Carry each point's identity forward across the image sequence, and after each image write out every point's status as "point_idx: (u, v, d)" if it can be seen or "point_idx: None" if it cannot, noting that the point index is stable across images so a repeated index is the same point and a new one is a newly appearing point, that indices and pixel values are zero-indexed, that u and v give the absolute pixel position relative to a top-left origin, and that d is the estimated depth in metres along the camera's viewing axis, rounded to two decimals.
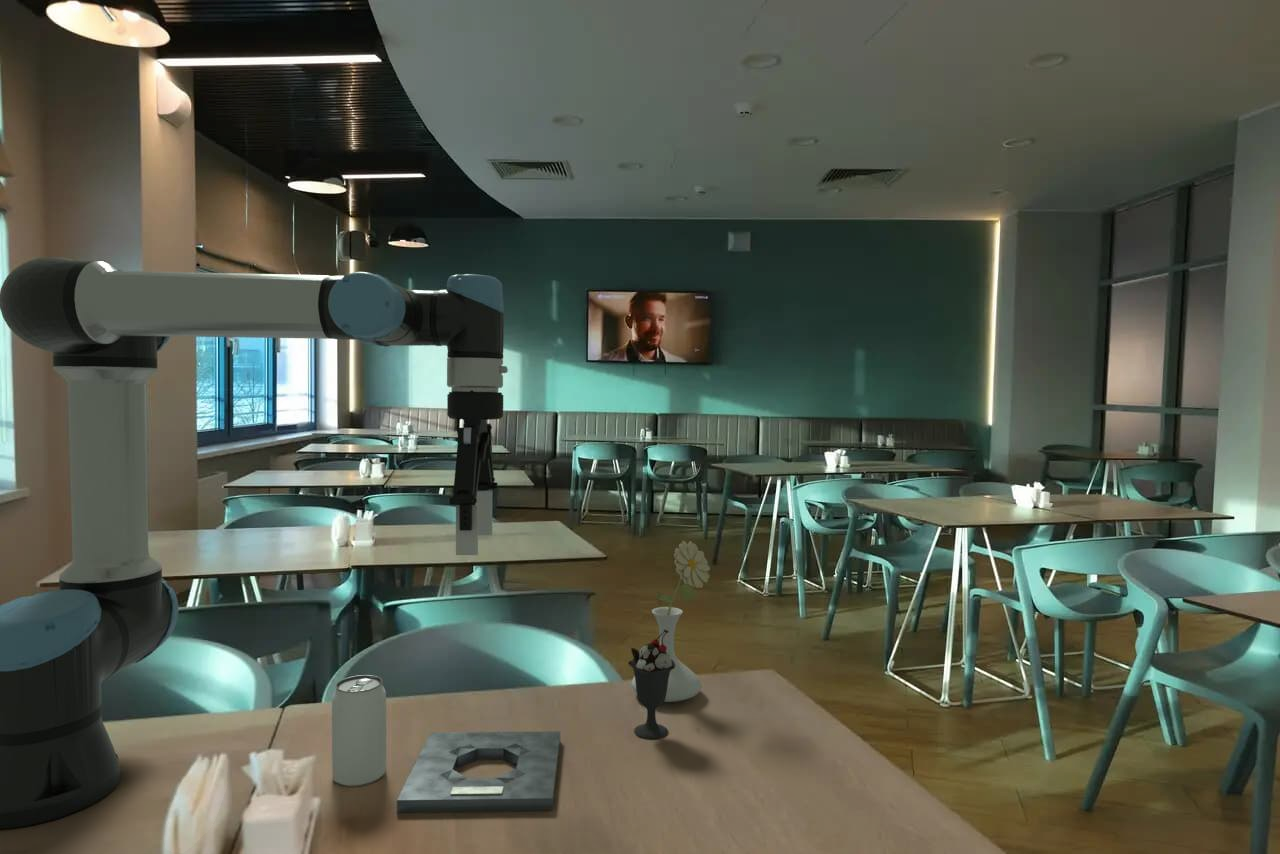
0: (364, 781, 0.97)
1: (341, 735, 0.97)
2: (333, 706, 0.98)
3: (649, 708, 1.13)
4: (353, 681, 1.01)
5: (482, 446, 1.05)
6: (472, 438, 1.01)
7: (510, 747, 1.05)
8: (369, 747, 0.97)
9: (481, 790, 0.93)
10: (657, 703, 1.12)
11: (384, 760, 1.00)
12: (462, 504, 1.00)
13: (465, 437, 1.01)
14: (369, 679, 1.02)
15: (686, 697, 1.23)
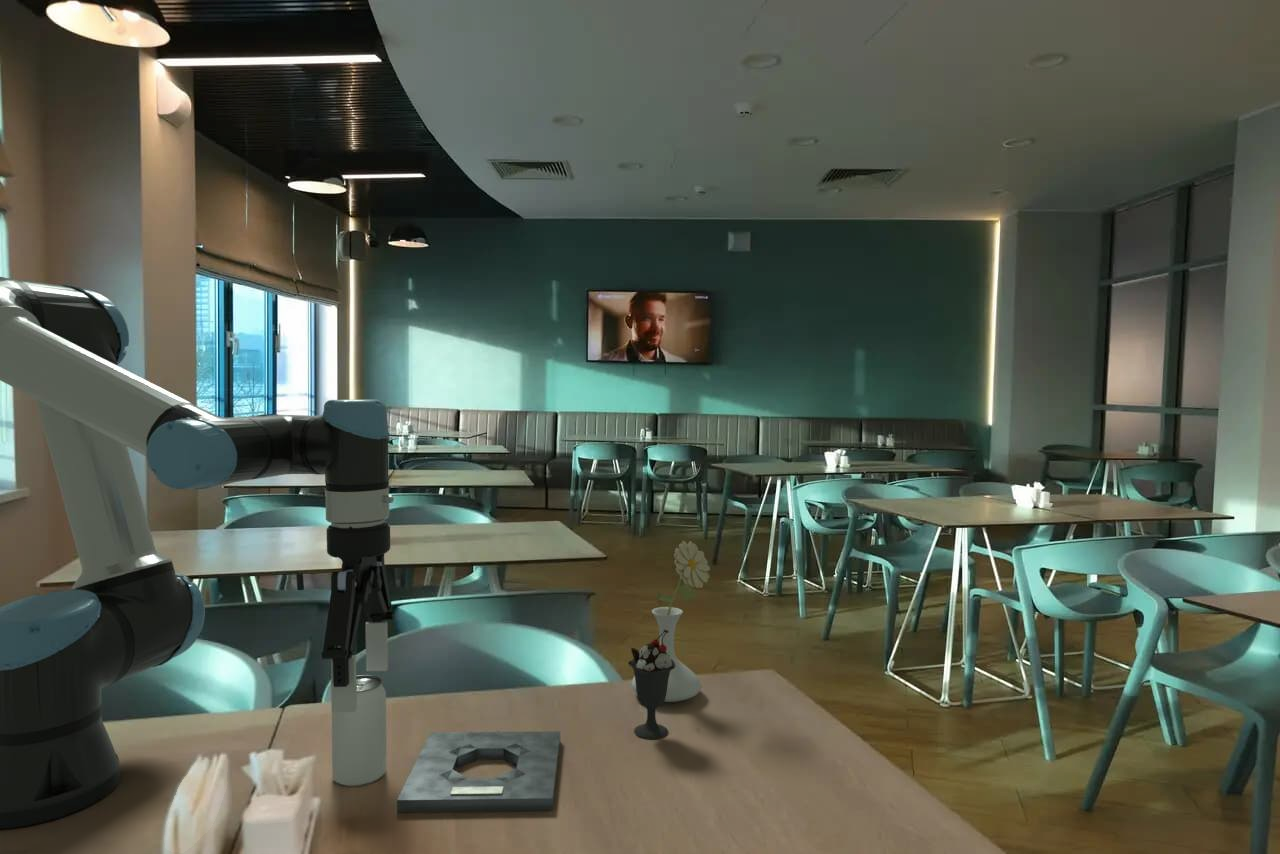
0: (364, 781, 0.97)
1: (341, 735, 0.97)
2: None
3: (649, 708, 1.13)
4: None
5: (363, 587, 0.96)
6: (347, 584, 0.92)
7: (510, 747, 1.05)
8: (369, 747, 0.97)
9: (481, 790, 0.93)
10: (657, 703, 1.12)
11: (384, 760, 1.00)
12: (335, 659, 0.91)
13: (339, 583, 0.92)
14: (369, 679, 1.02)
15: (686, 697, 1.23)
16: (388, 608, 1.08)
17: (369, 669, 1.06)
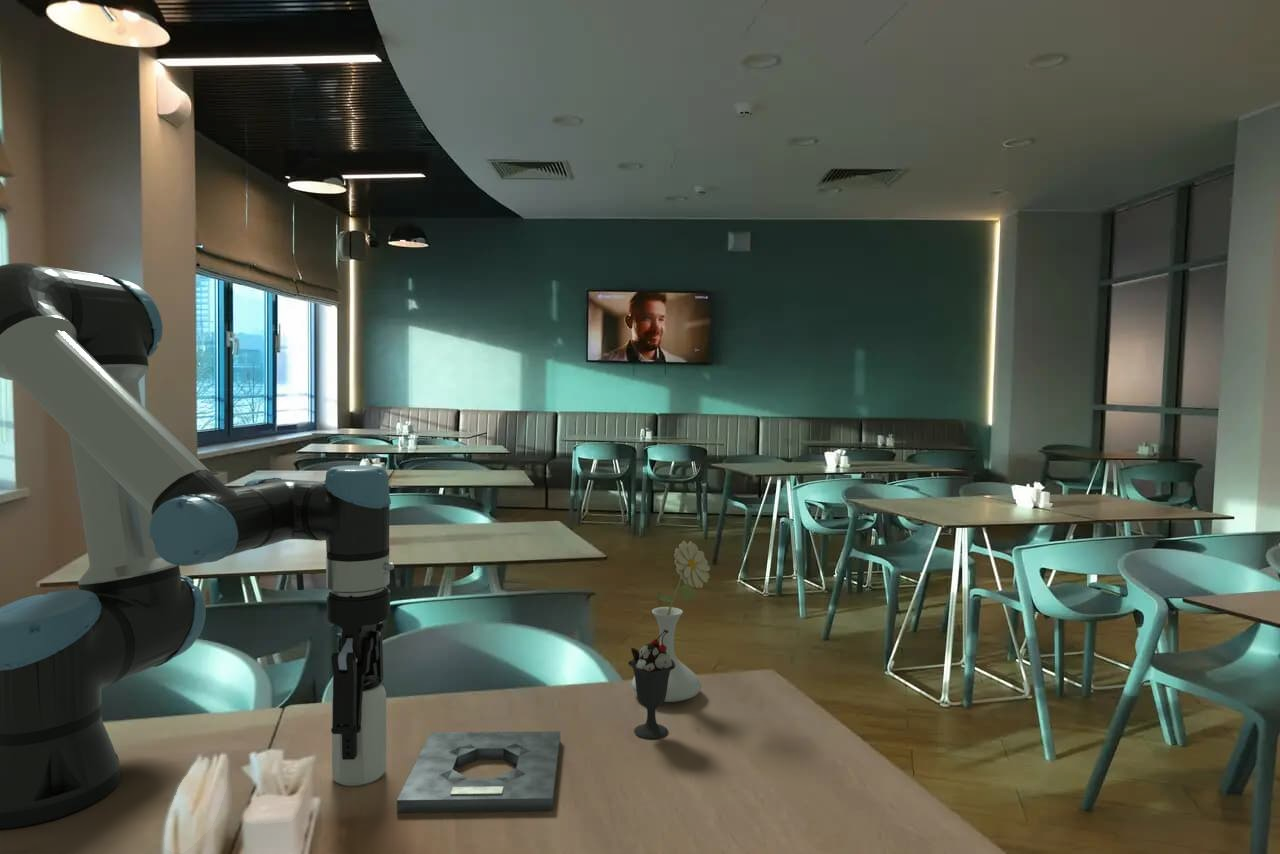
0: (364, 781, 0.97)
1: None
2: None
3: (649, 708, 1.13)
4: None
5: (364, 658, 0.97)
6: (348, 666, 0.93)
7: (510, 747, 1.05)
8: (369, 747, 0.97)
9: (481, 790, 0.93)
10: (657, 703, 1.12)
11: (384, 760, 1.00)
12: (344, 733, 0.95)
13: (340, 666, 0.93)
14: (369, 679, 1.01)
15: (686, 697, 1.23)
16: None
17: None
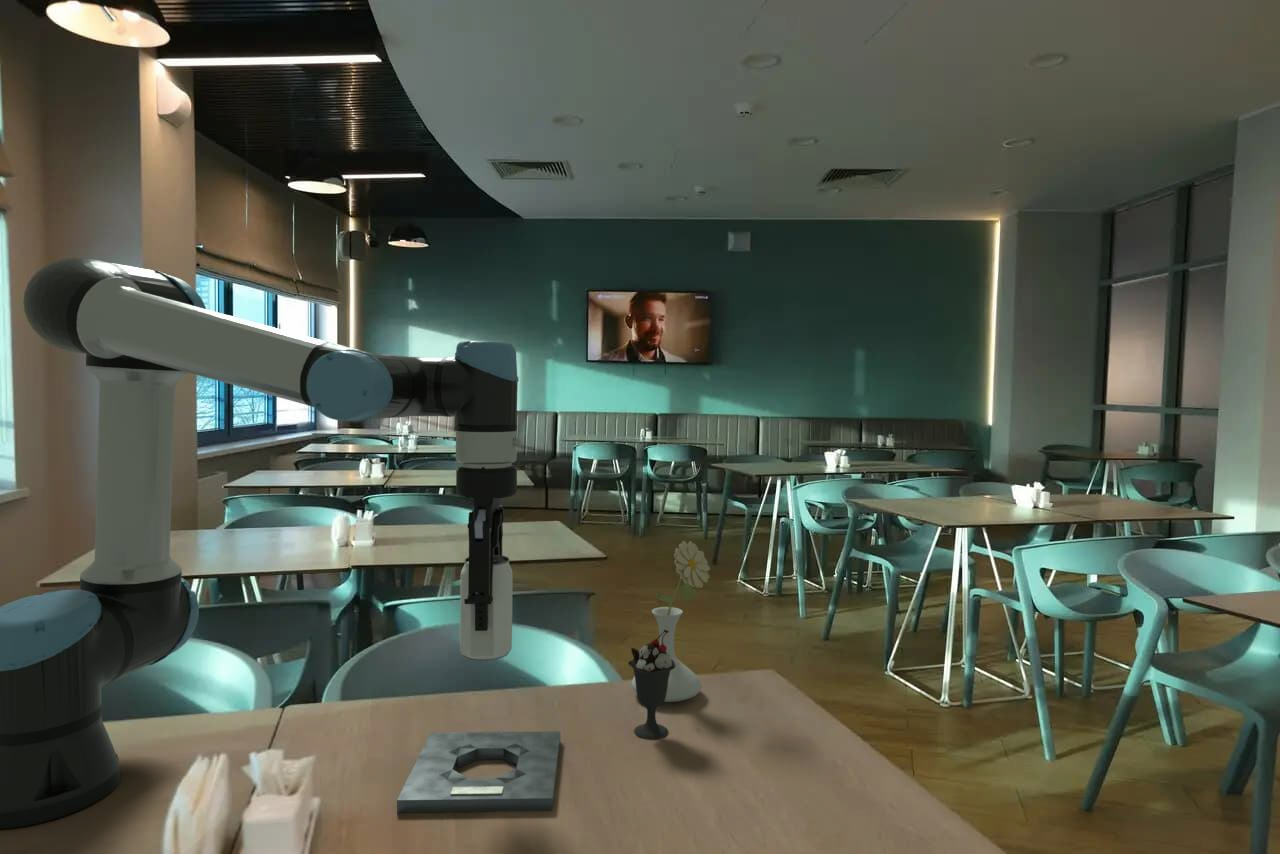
0: (494, 655, 0.97)
1: None
2: (463, 580, 0.97)
3: (649, 708, 1.13)
4: None
5: (495, 531, 0.97)
6: (484, 534, 0.93)
7: (510, 747, 1.05)
8: (500, 621, 0.97)
9: (481, 790, 0.93)
10: (657, 703, 1.12)
11: (511, 637, 1.00)
12: (478, 604, 0.95)
13: (477, 533, 0.93)
14: (494, 558, 1.01)
15: (686, 697, 1.23)
16: None
17: None
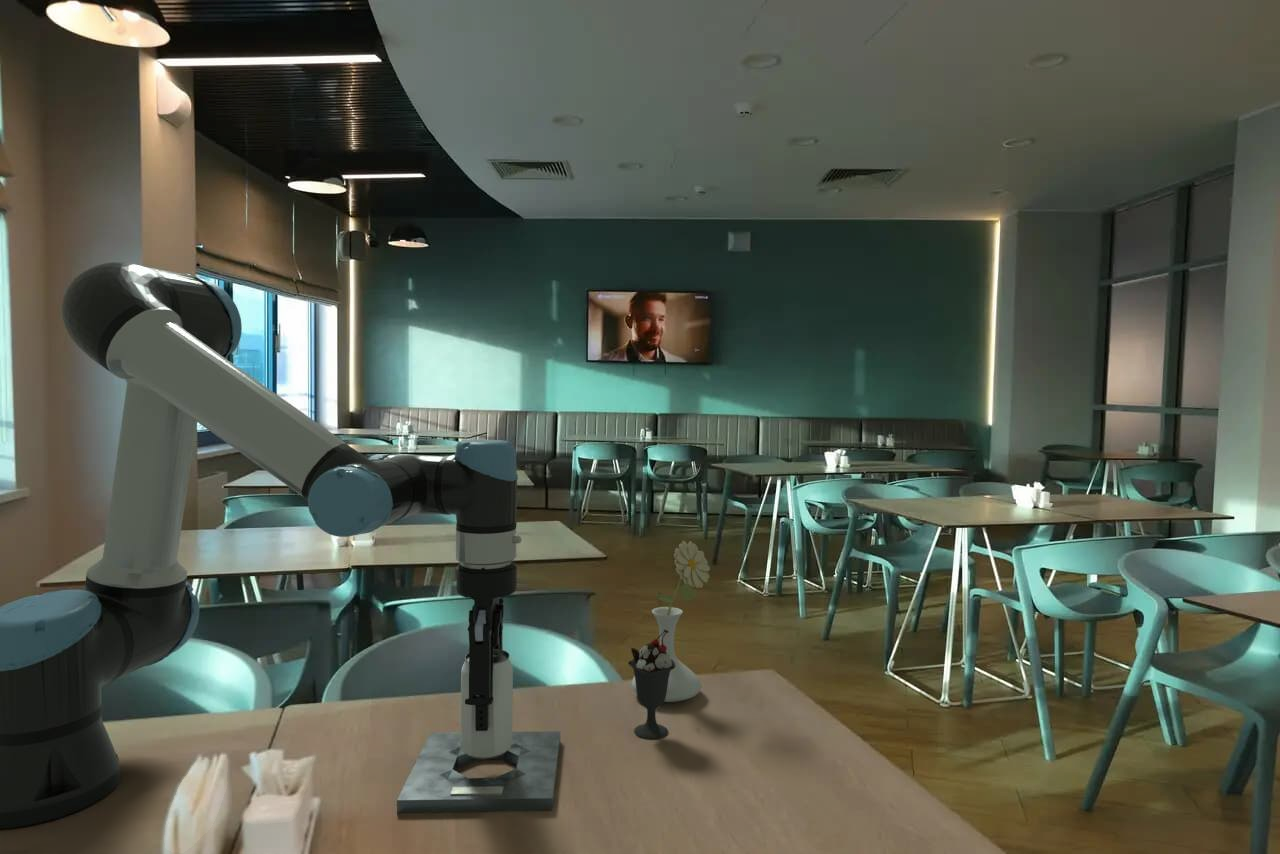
0: (495, 753, 0.98)
1: None
2: (464, 678, 0.98)
3: (649, 708, 1.13)
4: None
5: (495, 630, 0.98)
6: (484, 637, 0.94)
7: (510, 747, 1.05)
8: (500, 719, 0.98)
9: (481, 790, 0.93)
10: (657, 703, 1.12)
11: (511, 733, 1.00)
12: (478, 705, 0.95)
13: (477, 636, 0.93)
14: (494, 652, 1.02)
15: (686, 697, 1.23)
16: None
17: None
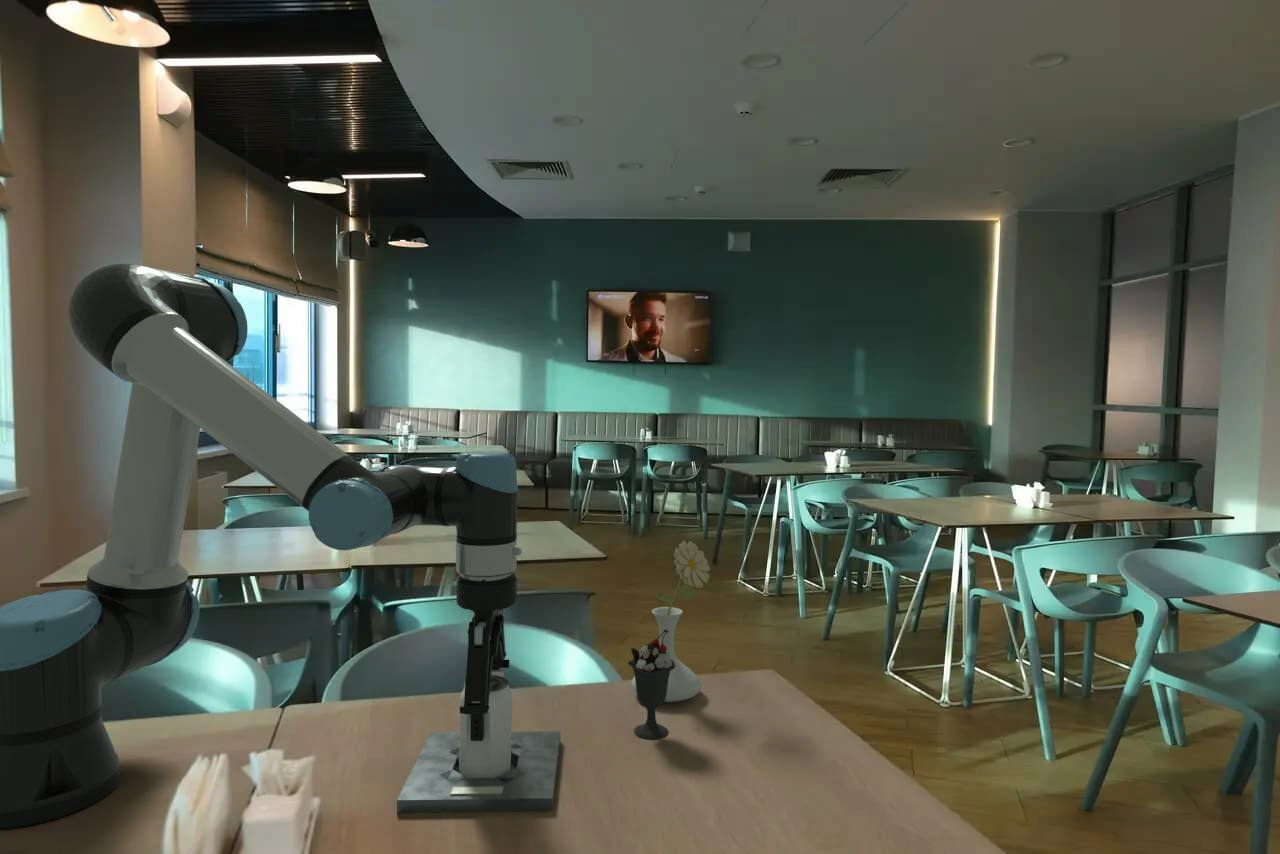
0: None
1: None
2: (463, 706, 0.98)
3: (649, 708, 1.13)
4: None
5: (494, 639, 0.97)
6: (484, 639, 0.93)
7: None
8: (498, 747, 0.98)
9: (481, 790, 0.93)
10: (657, 703, 1.12)
11: (510, 760, 1.00)
12: (473, 714, 0.92)
13: (476, 638, 0.93)
14: (494, 679, 1.02)
15: (686, 697, 1.23)
16: (503, 655, 1.09)
17: None
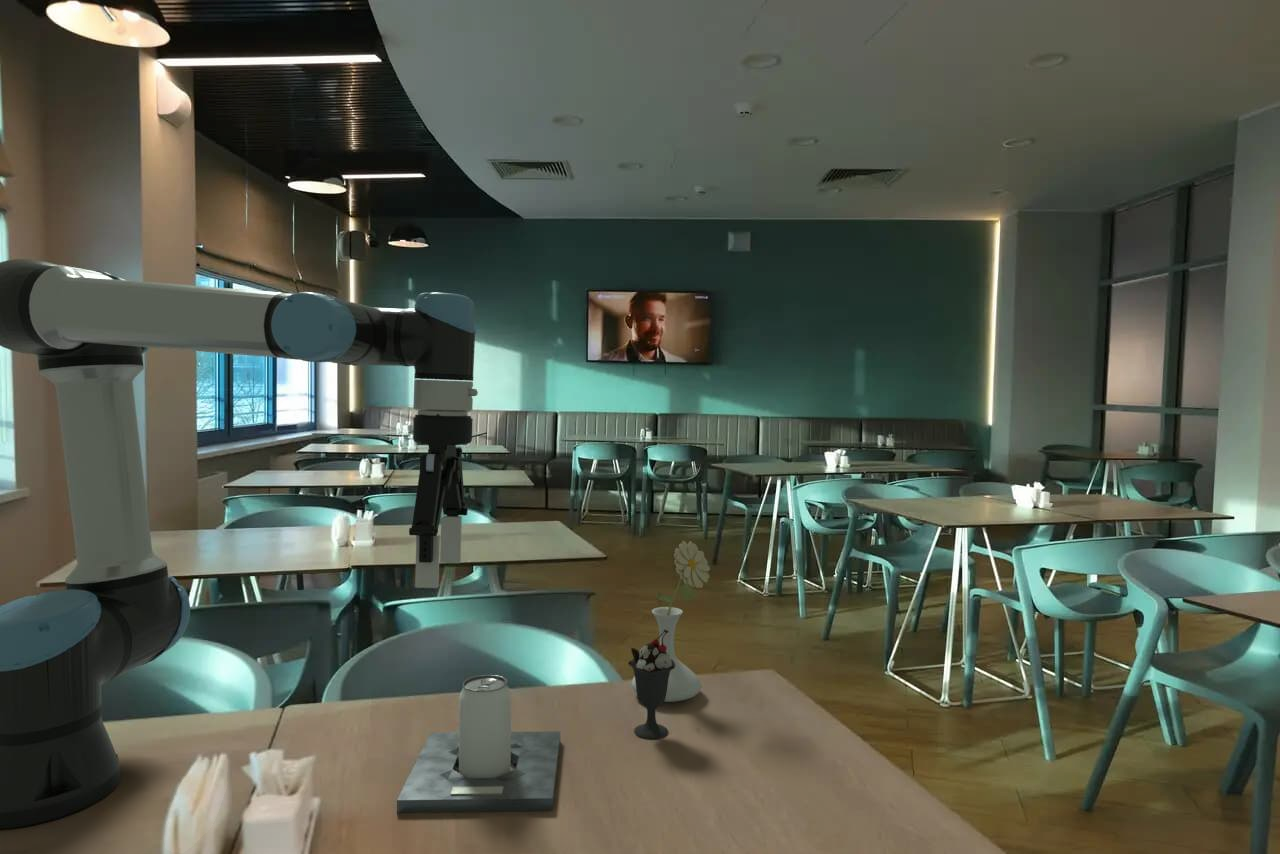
0: None
1: (470, 735, 0.97)
2: (462, 705, 0.98)
3: (649, 708, 1.13)
4: (477, 681, 1.02)
5: (447, 473, 1.00)
6: (435, 465, 0.96)
7: None
8: (498, 746, 0.98)
9: (481, 790, 0.93)
10: (657, 703, 1.12)
11: (510, 759, 1.00)
12: (422, 535, 0.95)
13: (428, 464, 0.96)
14: (493, 679, 1.02)
15: (686, 697, 1.23)
16: (462, 505, 1.12)
17: (443, 561, 1.10)
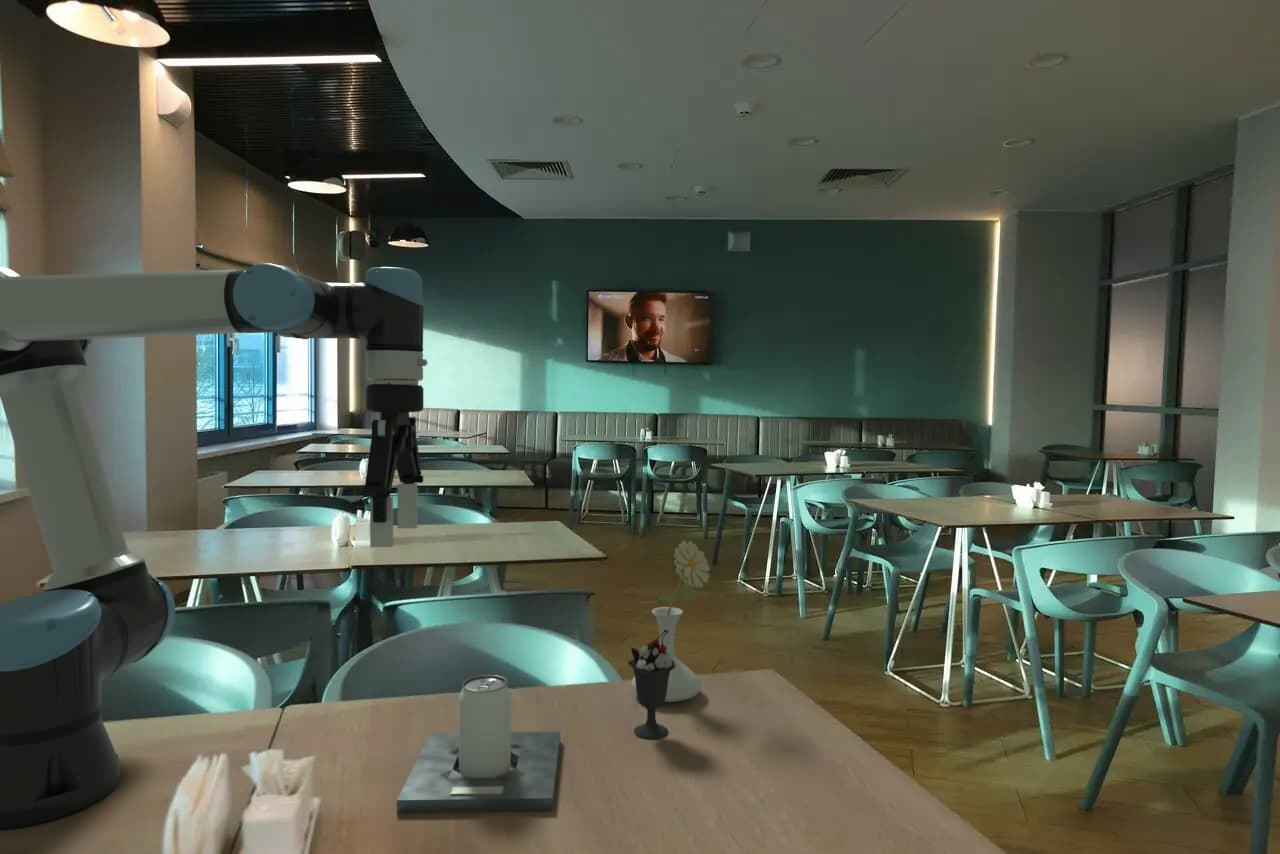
0: None
1: (470, 735, 0.97)
2: (462, 706, 0.98)
3: (649, 708, 1.13)
4: (477, 681, 1.02)
5: (399, 439, 1.05)
6: (386, 430, 1.01)
7: None
8: (498, 746, 0.98)
9: (481, 790, 0.93)
10: (657, 703, 1.12)
11: (510, 759, 1.00)
12: (375, 496, 1.00)
13: (379, 429, 1.01)
14: (492, 679, 1.02)
15: (686, 697, 1.23)
16: (418, 473, 1.17)
17: (400, 526, 1.15)
